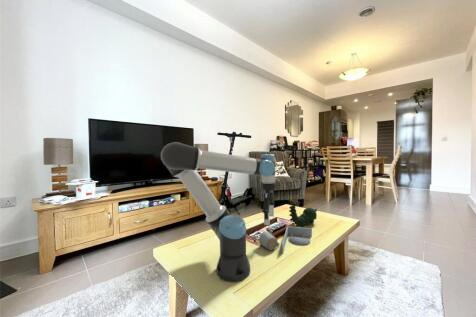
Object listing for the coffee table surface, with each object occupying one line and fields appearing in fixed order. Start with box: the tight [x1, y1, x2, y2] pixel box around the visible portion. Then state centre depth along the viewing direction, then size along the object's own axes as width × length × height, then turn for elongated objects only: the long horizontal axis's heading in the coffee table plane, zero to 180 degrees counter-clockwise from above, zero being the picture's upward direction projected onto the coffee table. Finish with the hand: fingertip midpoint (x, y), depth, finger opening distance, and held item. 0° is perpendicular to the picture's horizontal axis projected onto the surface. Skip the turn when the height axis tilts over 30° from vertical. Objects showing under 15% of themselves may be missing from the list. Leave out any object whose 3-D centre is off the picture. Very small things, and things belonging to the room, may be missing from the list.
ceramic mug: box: [258, 231, 280, 251], centre depth 113 cm, size 11×8×8 cm
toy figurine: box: [288, 201, 318, 228], centre depth 145 cm, size 9×19×25 cm
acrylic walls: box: [281, 225, 313, 255], centre depth 115 cm, size 26×15×5 cm, turn 161°
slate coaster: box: [288, 235, 311, 246], centre depth 120 cm, size 12×12×1 cm
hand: (269, 220), depth 112 cm, fingers open, 13 cm apart
